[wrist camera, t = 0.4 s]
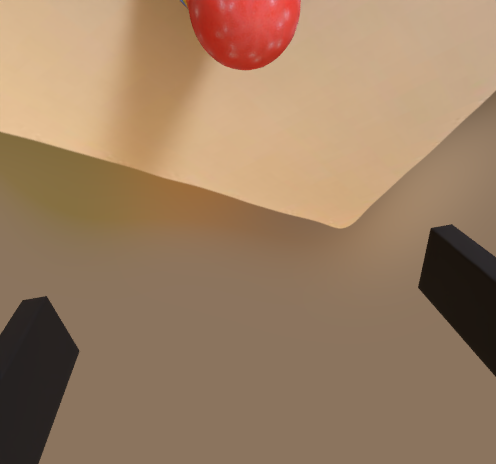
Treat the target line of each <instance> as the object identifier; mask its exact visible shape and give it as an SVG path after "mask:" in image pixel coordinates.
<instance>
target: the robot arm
mask: <svg viewBox="0 0 496 464" xmlns="http://www.w3.org/2000/svg"><path fill="white" fill-rule="evenodd" d="M418 288H419V289H420V290H421V291H422V293H423V294H424V295H425V296H426V297H427V298H428V299H429V301H430V302H431V303H432V304H433V305H434V306H435V307H436V309H437V310H438V311H439V312H440V313H441V314H442V315H443V317H444V318H445V319H446V320H447V321H448V322H449V323H450V325H451V326H452V327H453V328H454V329H455V330H456V332H457V333H458V334H459V335H460V336H461V337H462V338H463V340H464V341H465V342H466V343H467V344H468V345H469V347H471V349H472V350H473V351H474V352H475V353H476V355H477V356H478V357H479V358H480V359H481V360H482V361H483V362H484V364H485V365H486V366H487V367H488V368H489V369H490V371H491V372H492V373H493V374H494V375H495V376H496V257H495V256H493V255H492V254H491V253H489V252H488V251H487V250H485V249H484V248H483V247H481V246H480V245H478V244H477V243H476V242H475V241H473V240H472V239H471V238H469V237H468V236H467V235H465V234H464V233H463V232H461V231H460V230H459V229H457V228H456V227H454V226H453V225H452V224H451V225H446V226H441V227H435V228H431V230H430V235H429V239H428V244H427V249H426V253H425V258H424V263H423V267H422V272H421V277H420V281H419V286H418ZM78 354H79V349H78V348H77V346H76V344H75V343H74V341H73V339H72V338H71V336H70V334H69V333H68V331H67V329H66V328H65V326H64V324H63V323H62V321H61V319H60V318H59V316H58V314H57V313H56V311H55V309H54V308H53V306H52V304H51V303H50V301H49V299H48V298H47V296H45V297H39V298H33V299H28V300H23V301H22V302H21V304H20V305H19V307H18V308H17V310H16V311H15V313H14V314H13V316H12V318H11V319H10V321H9V322H8V324H7V325H6V327H5V329H4V330H3V332H2V333H1V335H0V464H38V463H39V460H40V458H41V455H42V452H43V450H44V447H45V444H46V441H47V438H48V436H49V433H50V430H51V428H52V425H53V422H54V419H55V417H56V414H57V411H58V408H59V406H60V403H61V400H62V397H63V395H64V392H65V389H66V386H67V383H68V381H69V378H70V375H71V373H72V370H73V367H74V364H75V361H76V359H77V356H78Z"/></svg>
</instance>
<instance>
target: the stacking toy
mask: <svg viewBox="0 0 496 464" xmlns="http://www.w3.org/2000/svg"><path fill="white" fill-rule="evenodd" d="M180 1H181V2H182V3H183V4H184V5H185V6H186V7H187V8H188V9H189V14H190V19H191V23H192V26H193V29H194V32H195V34H196V37H197V38H198V40H199V42H200V44H201V45H202V46H203V48H204V49H205V50H206V51H207V53H208V54H209V55H210V56H212V57H213V58H214V59H215V60H216V61H218V62H219V63H221V64H222V65H224V66H227V67H230V68H233V69H238V70H252V69H257V68H261V67H264V66H265V65H267V64H269V63H271V62H272V61H274V60H275V59H276V58H278V57H279V56H280V55H281V54H282V52H283V51H284V50H285V49H286V47H287V46H288V45H289V43H290V42H291V40H292V38H293V36H294V33H295V31H296V28H297V24H298V21H299V15H300V2H301V1H300V0H180Z"/></svg>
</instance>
